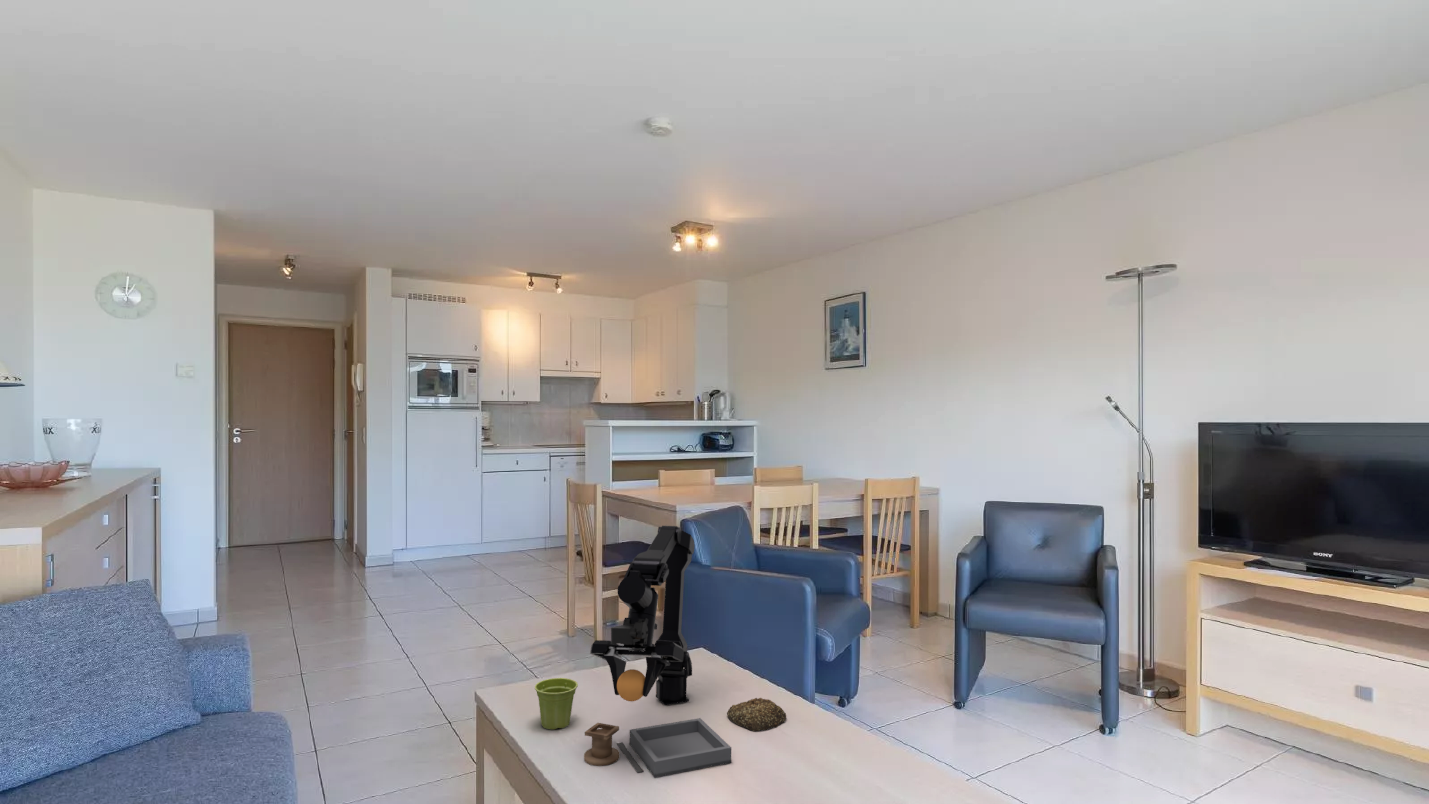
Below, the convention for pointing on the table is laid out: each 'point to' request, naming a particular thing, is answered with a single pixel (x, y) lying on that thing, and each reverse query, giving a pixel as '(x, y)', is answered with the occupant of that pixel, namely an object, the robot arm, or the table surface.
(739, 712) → the brown speckled mound
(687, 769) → the grey square tray
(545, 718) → the plant pot
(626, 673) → the ball
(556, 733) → the table surface
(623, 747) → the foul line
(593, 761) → the tee
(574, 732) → the table surface
